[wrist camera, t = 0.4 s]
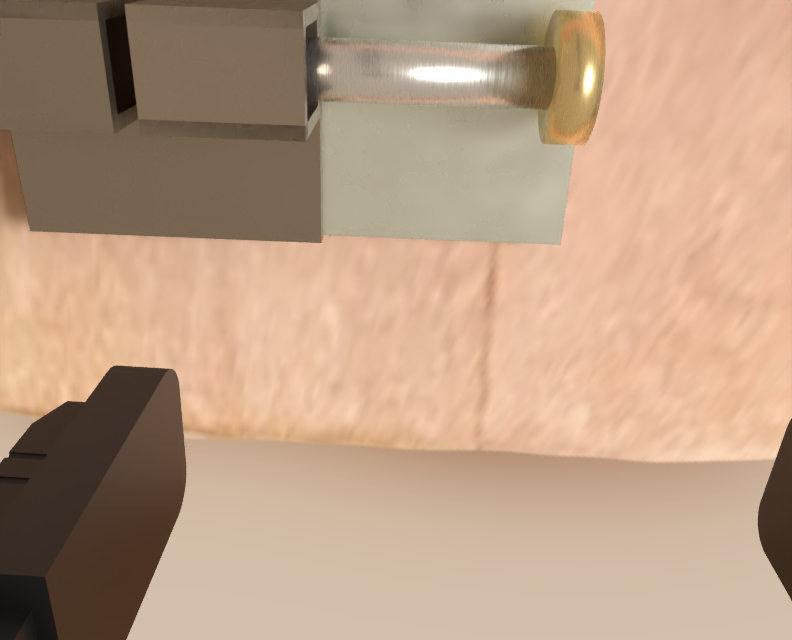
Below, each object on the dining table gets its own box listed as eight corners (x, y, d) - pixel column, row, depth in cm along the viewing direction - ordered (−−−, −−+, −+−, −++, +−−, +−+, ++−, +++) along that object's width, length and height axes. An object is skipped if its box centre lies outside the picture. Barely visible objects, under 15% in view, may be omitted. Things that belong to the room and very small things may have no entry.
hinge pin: (204, -9, 30) (167, 0, 26) (584, 6, 30) (613, 16, 26) (213, 116, 33) (181, 143, 28) (567, 130, 33) (591, 159, 28)
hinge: (-20, -173, 30) (-132, -203, 24) (608, -151, 30) (656, -175, 23) (52, 215, 37) (-20, 268, 31) (555, 235, 37) (582, 293, 31)
